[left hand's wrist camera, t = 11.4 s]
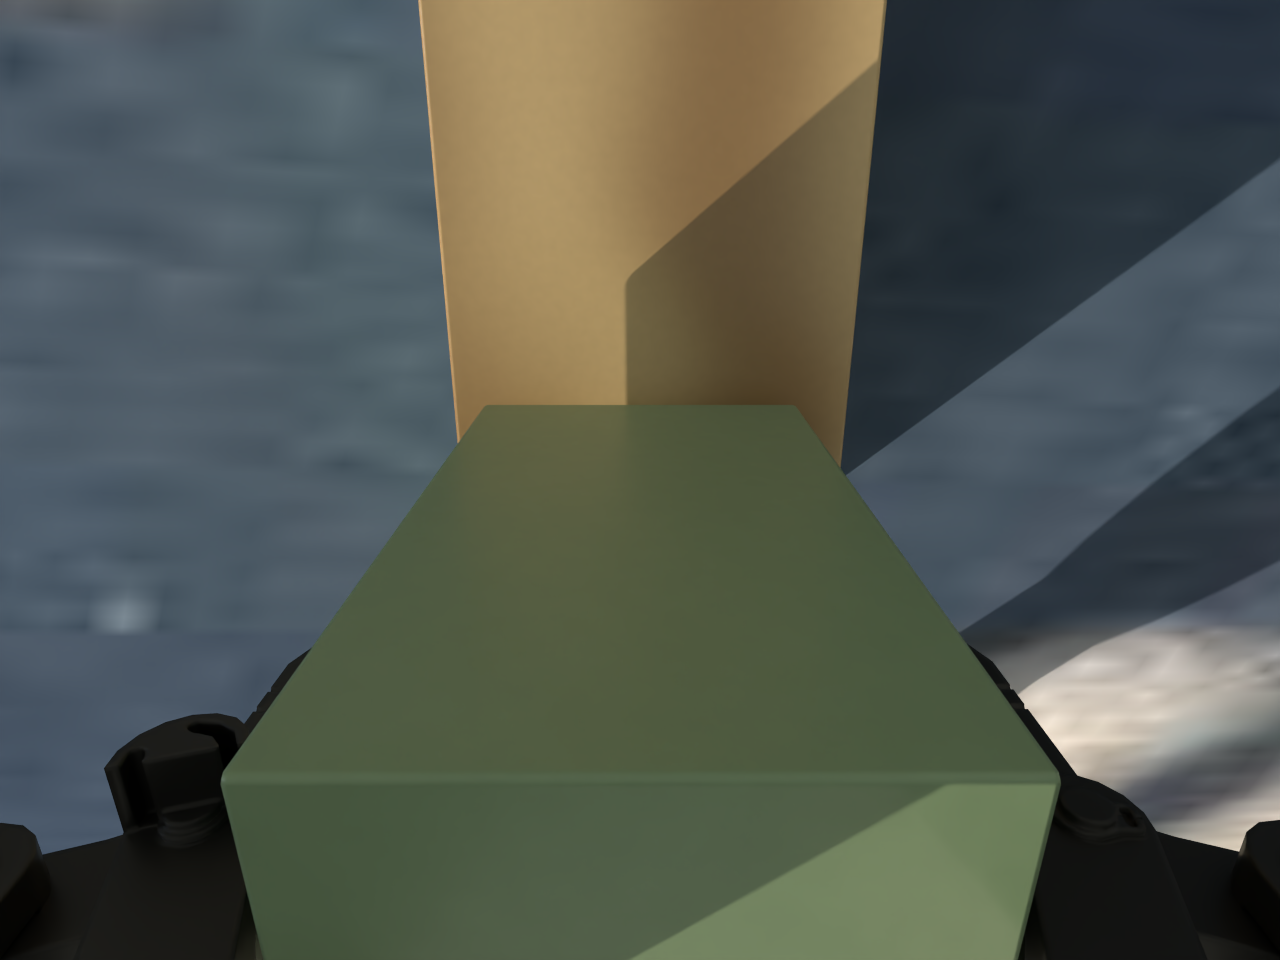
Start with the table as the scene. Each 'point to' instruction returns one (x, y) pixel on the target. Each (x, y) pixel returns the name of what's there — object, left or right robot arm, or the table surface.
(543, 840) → the cap block
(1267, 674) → the table surface
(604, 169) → the plank
